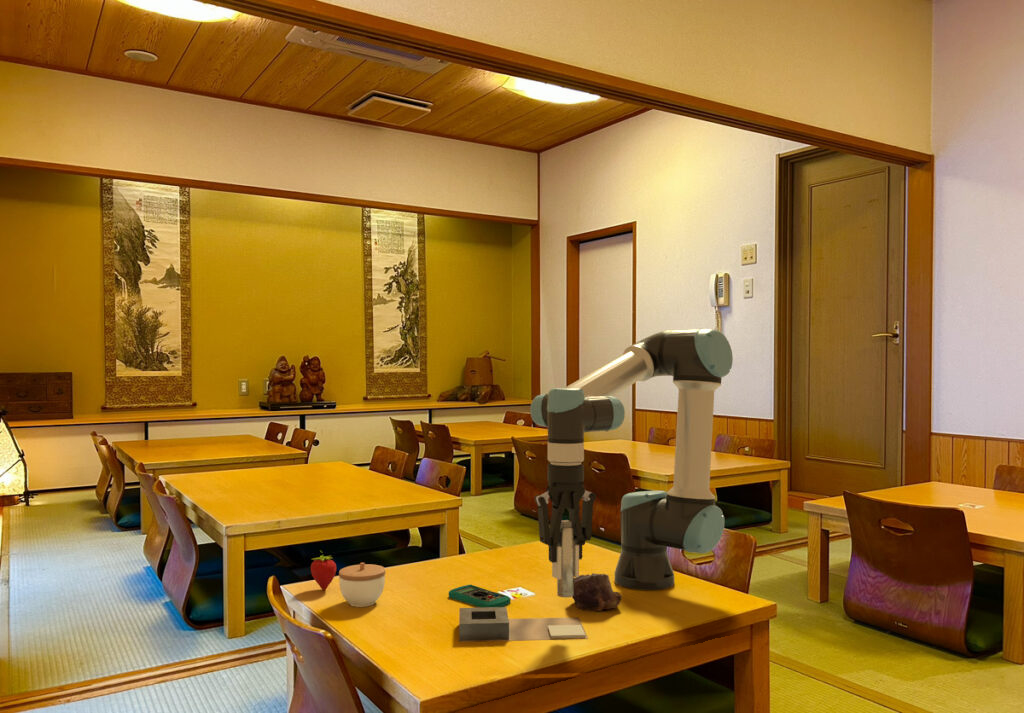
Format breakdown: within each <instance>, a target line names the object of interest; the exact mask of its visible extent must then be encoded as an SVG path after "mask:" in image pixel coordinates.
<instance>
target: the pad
mask: <svg viewBox="0 0 1024 713" xmlns="http://www.w3.org/2000/svg"><path fill="white" fill-rule="evenodd" d="M582 626H583V625H582ZM582 626H581V625H549V626H548V630H549V634H550V637H551V639H557V638H585V633H584V631H583V628H584V627H583V628H582Z"/></svg>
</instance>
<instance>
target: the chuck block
mask: <svg viewBox="0 0 1024 713" xmlns="http://www.w3.org/2000/svg"><path fill="white" fill-rule="evenodd" d="M508 619H509V615H508V610H507V606H504V607H484V608H480V607H459V621H458V622H459V624H458V627H459V628H458V629H459V630H458V632H459V633H458V636H459V637H458V639H459V640H458V641H477V640H509V620H508Z"/></svg>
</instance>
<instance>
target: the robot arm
mask: <svg viewBox="0 0 1024 713" xmlns="http://www.w3.org/2000/svg"><path fill="white" fill-rule="evenodd" d="M732 350H733V349H732V347H731V344H730V341H729V340H728V339H727V337H726V336H725V334H724V333H723V332H721V331H720V330H718V329H714V328H712V329H710V328H693V329H692V328H691V329H676V330H674V329H672V330H670V329H669V330H664V331H658V332H657V333H653V334H652V335H649V336H647V337H644V338H643V339H641V340H639V341H637V342H635V343H633V344H631V345H630V346H628V347H627V348H625V349H624V350H623V353H622V355H620V356H618V357H617V358H615V359H612V360H611V361H609V362H608V363H606V364H604V365H602V366H601V367H599V368H597V369H595V370H593V371H592V372H590V373H589V374H587V375H585V376H583V377H581V378H580V379H578V380H576V381H575V382H572V383H570V384H569V385H567V386H565V387H556V388H555V387H554V388H551V389H550V390H549V391H548V393H544V394H539V395H536V396H535V397H534V398H533V399H532V401H531V404H530V408H529V412H530V416H531V420H532V421H533V422H534V423H535V425H537V426H539V427H545V428H547V460H548V462H549V463H548V464H547V474H546V475H547V479H546V480H547V487H546V489H545V492H544V493H541V494H540V495H538V494H536V495H534V500H535V504H536V506H537V514H538V515H537V516H538V517H537V518H538V533H539V541H540V543H542V544H544V545H546V546H548V561H549V562H550V563H551V571H552V572H551V573H552V574H551V576H552V578H554V579H556V580H557V579H558V580H559V579H561V547H560V546H558V541H559V535H560V528H561V521H562V520H563V514H565V510H566V509H567V512H568V517H569V521H571V526H573V527H574V578H576V577H579V576H580V560H582V559H583V546H584V545H585V544H586V542H587V541H591V540H592V530H593V529H592V528H593V511H594V503H595V501H596V498H597V494H596V493H595V492H591V491H588V490H586V488H585V486H584V480H585V466H584V464H583V463H582V462H584V461H585V444H584V443H585V433H590V432H592V433H593V432H594V433H595V432H609V431H612V430H616V429H618V428H620V427H621V426H622V424H623V423H624V421H625V417H626V416H625V415H626V414H625V412H626V411H625V407H624V404H623V402H622V401H621V400H620V399H618V397H615V395H617V394H619V393H620V392H622V391H623V390H625V389H627V388H629V387H631V386H632V385H634V384H635V383H637V382H645V381H648V380H650V379H651V378H655V377H662V376H668V377H669V376H672V383H673V384H674V385H675V387H677V388H678V398H677V414H676V430H675V433H676V434H675V451H674V467H673V468H674V470H673V485H672V487H671V488H670V489H669V490H668V491H665V490H644V491H643V490H642V491H635V492H629V493H625V494H624V495H623V496H622V498H621V501H620V502H621V503H620V504H621V505H620V540H621V541H620V542H621V544H620V545H621V546H620V547H621V549H620V555H619V558H618V561H617V564H616V567H615V570H614V583H616V585H619V586H621V587H624V588H627V589H630V590H631V589H632V590H638V591H639V590H641V591H660V590H665V589H669V588H671V587H673V586H674V585H675V572H674V570H673V567H672V564H671V561H670V557H669V555H668V548H672V549H677V550H682V551H686V552H688V553H690V554H691V553H696V554H707V553H709V552H711V551H713V550H714V549H715V548H716V547H717V545H718V544H719V542H720V541H721V539H722V537H723V533H724V529H725V516H724V514H723V511H722V509H721V508H720V507H718V505H716V496H715V495H714V494H713V493H712V492H711V490H710V485H711V484H710V483H711V482H710V481H711V480H710V479H711V464H712V461H711V460H712V448H713V447H712V443H713V426H714V425H713V424H714V408H715V405H714V403H715V392H716V390H717V389H719V388H720V387H721V386H722V379H723V378H724V377H726V376H727V375H729V373H730V372H731V370H732V367H733V360H734V358H733V357H734V356H733V351H732ZM549 500H550V501H551V504H552V505H551V510H550V511H551V516H549V507H548V504H549ZM581 500H582V507H580V501H581ZM580 508H582V509H580ZM580 512H581V515H580ZM580 516H581V517H580Z"/></svg>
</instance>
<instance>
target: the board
mask: <svg viewBox="0 0 1024 713" xmlns="http://www.w3.org/2000/svg"><path fill="white" fill-rule="evenodd" d="M508 620H509V640H477V641H459V640H458V641H459V643H470V642H471V643H473V642H474V643H477V642H478V643H479V642H480V643H481V642H482V643H483V642H515V641H518V642H519V641H520V642H521V641H552V640H553V641H556V640H561V641H562V640H589V637H588V635H587V633H586V631H585V630H586V629H585V628H584V626H583V623H582V621H581V619H580V617H578V616H576V617H575V616H574V617H573V616H572V617H540V618H539V617H536V618H535V617H533V618H532V617H531V618H527V617H526V618H508ZM549 625H581V626H582V628H583V631H584V633H585V638H557V639H551V637H550V634H549V630H548V626H549Z"/></svg>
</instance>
